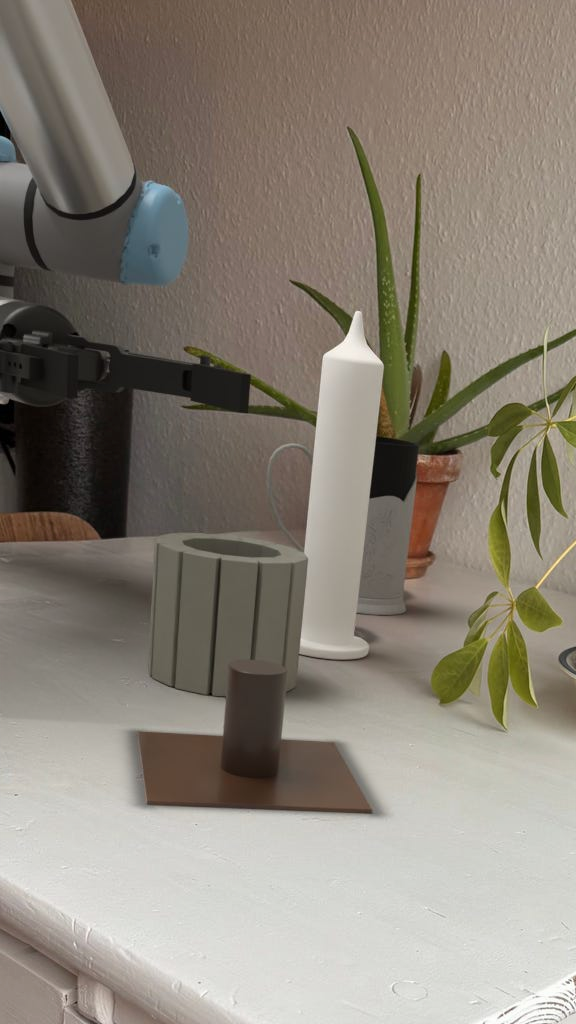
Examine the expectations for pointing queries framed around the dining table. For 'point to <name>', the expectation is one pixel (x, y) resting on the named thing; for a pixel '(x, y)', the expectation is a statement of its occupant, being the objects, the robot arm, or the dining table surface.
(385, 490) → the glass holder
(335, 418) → the candle
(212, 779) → the peg stand
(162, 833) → the dining table surface
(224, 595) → the slatted planter pot
